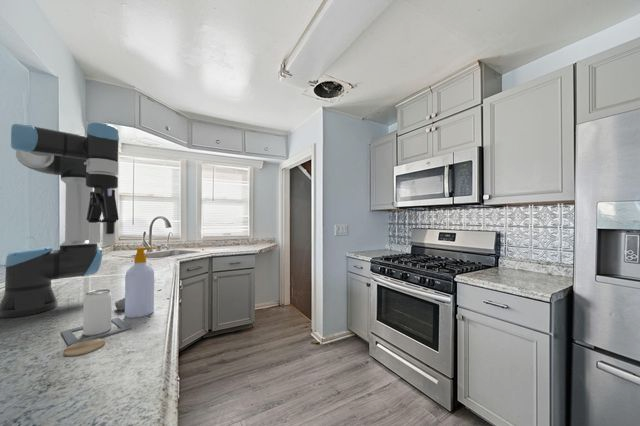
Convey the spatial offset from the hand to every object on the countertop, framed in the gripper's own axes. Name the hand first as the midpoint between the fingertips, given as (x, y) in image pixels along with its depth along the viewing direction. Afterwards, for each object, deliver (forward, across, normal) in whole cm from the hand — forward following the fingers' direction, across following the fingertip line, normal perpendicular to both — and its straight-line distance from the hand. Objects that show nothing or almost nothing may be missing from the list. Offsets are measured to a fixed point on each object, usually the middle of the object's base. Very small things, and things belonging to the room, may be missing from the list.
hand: (101, 244), depth 79 cm
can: (+27, 0, 0) cm, 27 cm away
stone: (+27, -17, +14) cm, 35 cm away
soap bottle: (+27, -7, +14) cm, 31 cm away
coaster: (+26, +10, -5) cm, 29 cm away
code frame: (+26, -1, 0) cm, 26 cm away
